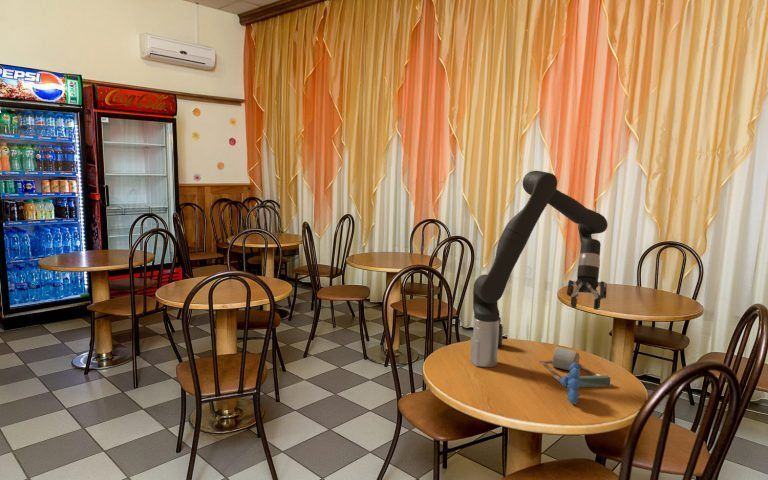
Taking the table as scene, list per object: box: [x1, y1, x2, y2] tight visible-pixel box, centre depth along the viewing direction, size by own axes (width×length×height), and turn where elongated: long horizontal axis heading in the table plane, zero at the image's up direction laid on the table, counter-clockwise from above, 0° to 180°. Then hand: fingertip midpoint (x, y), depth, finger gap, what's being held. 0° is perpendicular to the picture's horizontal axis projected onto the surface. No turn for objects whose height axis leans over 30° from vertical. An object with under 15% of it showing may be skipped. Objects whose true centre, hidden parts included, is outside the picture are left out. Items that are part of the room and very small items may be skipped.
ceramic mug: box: [551, 346, 580, 372], centre depth 181 cm, size 11×8×8 cm
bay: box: [539, 360, 613, 388], centre depth 175 cm, size 23×17×3 cm
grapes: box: [558, 362, 582, 405], centre depth 153 cm, size 12×7×12 cm, turn 160°
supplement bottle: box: [498, 316, 504, 349], centre depth 203 cm, size 7×7×12 cm
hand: (584, 308), depth 184 cm, fingers open, 8 cm apart
